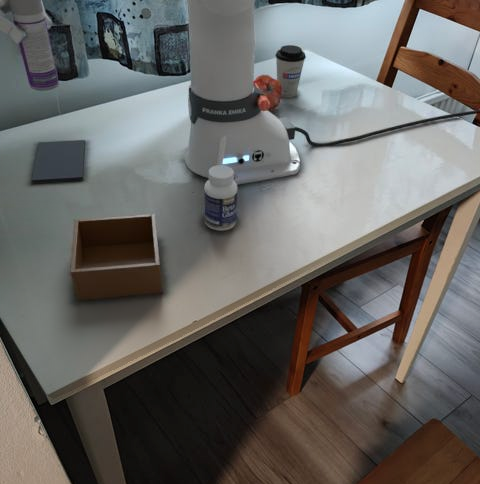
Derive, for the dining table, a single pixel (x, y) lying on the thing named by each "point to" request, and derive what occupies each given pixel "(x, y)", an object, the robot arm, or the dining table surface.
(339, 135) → the dining table surface
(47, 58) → the container
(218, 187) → the pill bottle
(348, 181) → the dining table surface
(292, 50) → the coffee cup
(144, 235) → the wooden tray
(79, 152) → the pad
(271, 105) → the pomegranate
